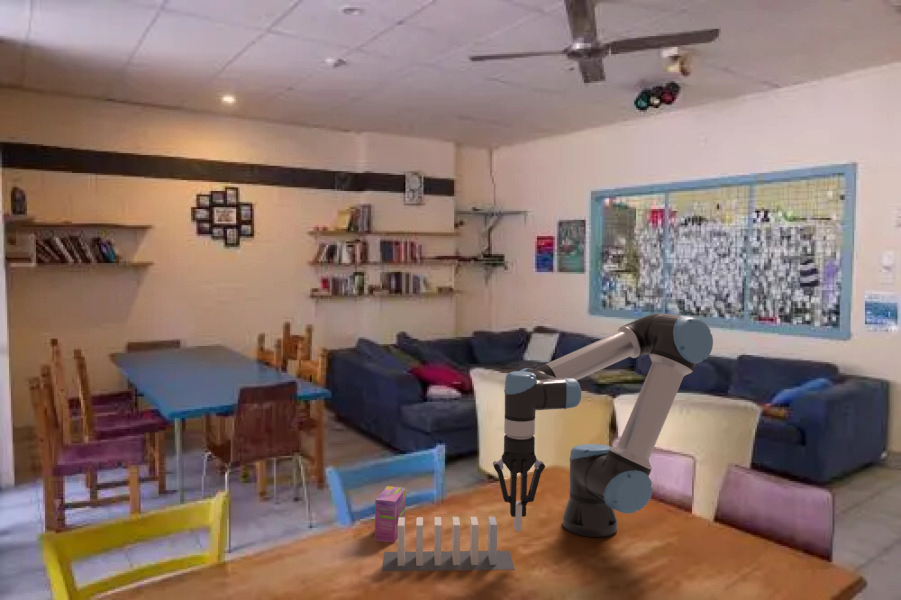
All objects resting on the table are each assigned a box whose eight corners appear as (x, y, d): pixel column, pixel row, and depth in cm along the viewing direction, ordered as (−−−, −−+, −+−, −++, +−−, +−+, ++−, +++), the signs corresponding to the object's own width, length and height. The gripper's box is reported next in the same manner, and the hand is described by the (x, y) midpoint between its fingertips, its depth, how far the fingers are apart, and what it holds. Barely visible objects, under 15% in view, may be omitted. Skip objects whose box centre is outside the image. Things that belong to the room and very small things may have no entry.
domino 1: (404, 556, 159) (405, 517, 158) (404, 565, 154) (404, 525, 153) (398, 556, 159) (398, 517, 158) (397, 565, 154) (397, 525, 153)
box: (395, 545, 167) (395, 501, 166) (374, 543, 168) (374, 499, 167) (405, 528, 177) (406, 487, 176) (386, 527, 178) (386, 485, 177)
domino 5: (476, 555, 160) (476, 516, 159) (478, 564, 155) (478, 524, 154) (470, 555, 160) (470, 516, 159) (471, 565, 155) (471, 524, 154)
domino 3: (440, 555, 159) (441, 516, 159) (441, 565, 154) (441, 525, 154) (434, 555, 159) (434, 517, 159) (434, 565, 154) (434, 525, 154)
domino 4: (458, 555, 159) (458, 516, 159) (459, 565, 154) (460, 525, 154) (452, 555, 159) (452, 516, 159) (453, 565, 154) (453, 525, 154)
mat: (509, 552, 163) (509, 550, 162) (514, 571, 153) (514, 569, 153) (384, 554, 161) (384, 551, 161) (381, 573, 151) (381, 570, 151)
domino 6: (494, 555, 160) (494, 516, 159) (496, 564, 155) (497, 524, 154) (488, 555, 160) (488, 516, 159) (490, 564, 155) (490, 524, 154)
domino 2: (422, 556, 159) (423, 517, 159) (422, 565, 154) (422, 525, 154) (416, 556, 159) (416, 517, 158) (416, 565, 154) (416, 525, 153)
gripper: (542, 431, 160) (541, 522, 161) (491, 431, 159) (490, 522, 161) (548, 439, 152) (546, 535, 154) (494, 439, 152) (493, 535, 153)
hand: (517, 528), depth 157 cm, fingers closed
